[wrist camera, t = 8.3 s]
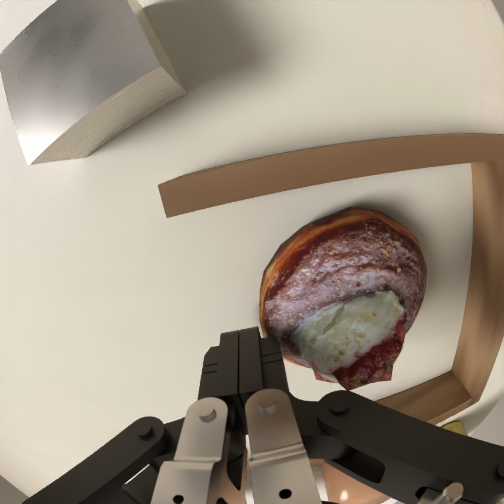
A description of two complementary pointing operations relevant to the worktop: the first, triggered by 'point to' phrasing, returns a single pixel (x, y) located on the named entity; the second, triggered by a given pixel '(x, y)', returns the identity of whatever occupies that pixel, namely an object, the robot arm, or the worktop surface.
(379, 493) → the peach rounded blob
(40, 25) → the gray block
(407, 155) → the display bay
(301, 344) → the pastry
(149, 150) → the worktop surface
